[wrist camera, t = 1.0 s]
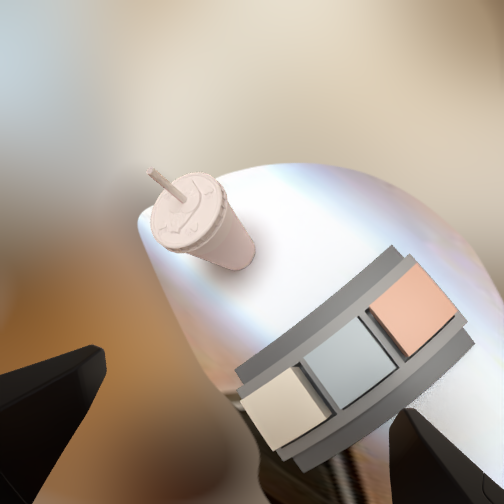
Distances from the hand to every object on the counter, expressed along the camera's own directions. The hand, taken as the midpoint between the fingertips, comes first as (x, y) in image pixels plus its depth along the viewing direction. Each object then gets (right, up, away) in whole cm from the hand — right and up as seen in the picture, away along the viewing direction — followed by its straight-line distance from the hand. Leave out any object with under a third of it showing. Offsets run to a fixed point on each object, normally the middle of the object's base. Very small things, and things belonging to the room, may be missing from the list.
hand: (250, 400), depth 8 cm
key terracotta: (+11, 0, +12) cm, 17 cm away
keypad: (+8, -5, +15) cm, 18 cm away
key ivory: (+3, -7, +13) cm, 15 cm away
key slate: (+7, -4, +13) cm, 15 cm away
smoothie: (-1, +4, +23) cm, 23 cm away
